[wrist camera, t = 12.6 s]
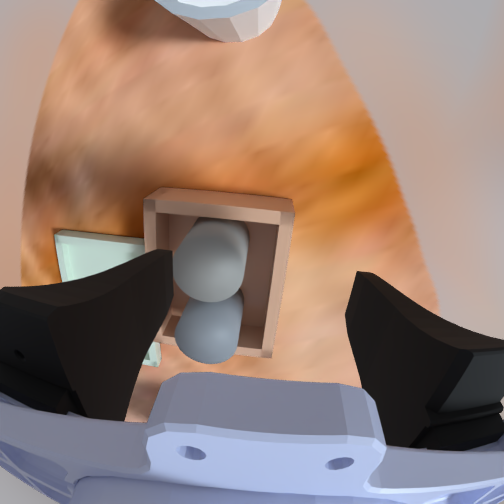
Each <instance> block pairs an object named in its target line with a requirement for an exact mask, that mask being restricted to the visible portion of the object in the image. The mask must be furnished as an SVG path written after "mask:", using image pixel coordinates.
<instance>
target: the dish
mask: <svg viewBox="0 0 504 504" xmlns="http://www.w3.org/2000/svg"><path fill="white" fill-rule="evenodd" d="M143 210H144V241H145V253H147V252H150V251H152V250H155V249H164V250H172V251H173V256H174V254H175V252H176V250H177V249H178V247H179V246H180V244H181V243H182V241H183V240H184V238H185V237H186V235H187V234H188V232H189V231H190V229H191V228H192V226H193V225H194V223H195V222H196V220H197V219H198V218H199V217H200V216H201V217H211V218H221V219H231V220H241V221H244V222H245V224H246V226H247V228H248V231H249V236H250V240H249V246H248V253H247V259H246V265H245V271H244V277H243V281H242V284H241V286H240V289H241V291H242V293H243V296H244V307H243V313H242V320H241V326H240V332H239V338H238V344H237V349H236V351H235V353H234V354H235V355H244V356H253V357H262V358H272V353H273V347H274V341H275V336H276V330H277V324H278V319H279V313H280V307H281V301H282V295H283V289H284V283H285V276H286V270H287V264H288V257H289V251H290V244H291V238H292V231H293V224H294V217H295V211H294V206H293V202H292V199H284V198H276V197H267V196H258V195H248V194H238V193H228V192H217V191H206V190H193V189H180V188H166V187H160V188H159V189H157V190H156V191H154V192H153V193H151V194H150V195H148V196H147V197H145V198H144V199H143ZM173 287H174V296H173V299H172V302H171V305H170V308H169V311H168V314H167V316H166V318H165V320H164V322H163V324H162V326H161V327H160V329H159V331H158V333H157V335H156V337H155V339H154V341H153V342H158V343H163V344H169V345H175V346H178V345H177V343H176V341H175V329H176V326H177V324H178V322H179V320H180V318H181V315H182V313H183V311H184V309H185V307H186V304H187V302H188V300H189V298H190V296H189V295H187V294H186V293H185V292H183V291H182V290H181V289H180V287H179V286H178V285H177V283H176V281H175V279H174V277H173Z"/></svg>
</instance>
